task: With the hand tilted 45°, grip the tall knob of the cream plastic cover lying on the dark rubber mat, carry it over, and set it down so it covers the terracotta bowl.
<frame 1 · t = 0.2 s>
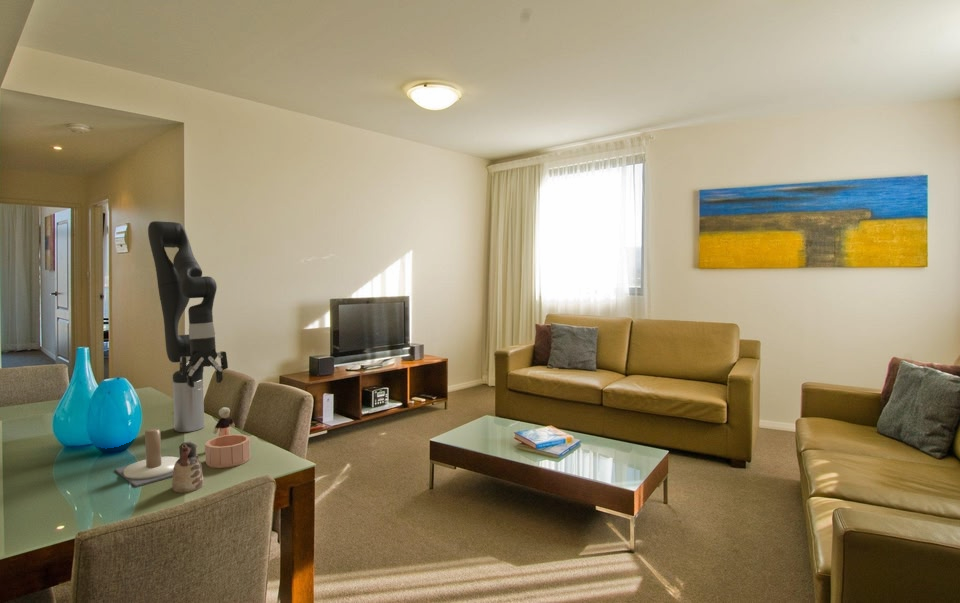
hand: (205, 384, 174), 18 cm above the table, tool pointing down, fingers open, 8 cm apart
grandmother figurine: (225, 446, 166), on the table
mat: (154, 470, 146), on the table
cover: (153, 449, 146), on the mat
figurine: (188, 487, 135), on the table
bowl: (228, 460, 154), on the table
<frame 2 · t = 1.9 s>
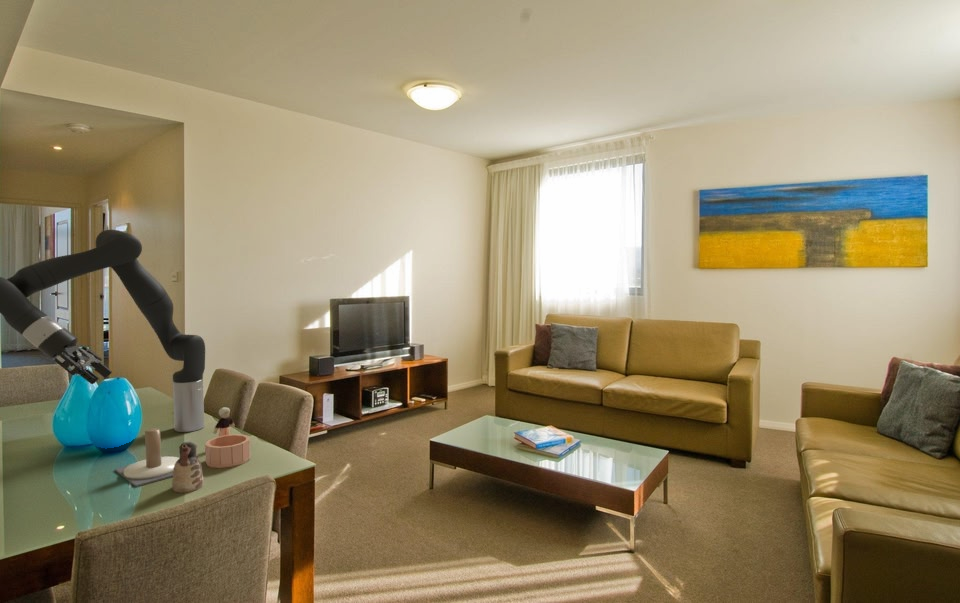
hand: (102, 378, 141), 27 cm above the table, tool tilted 45°, fingers open, 8 cm apart
nothing on the table moved.
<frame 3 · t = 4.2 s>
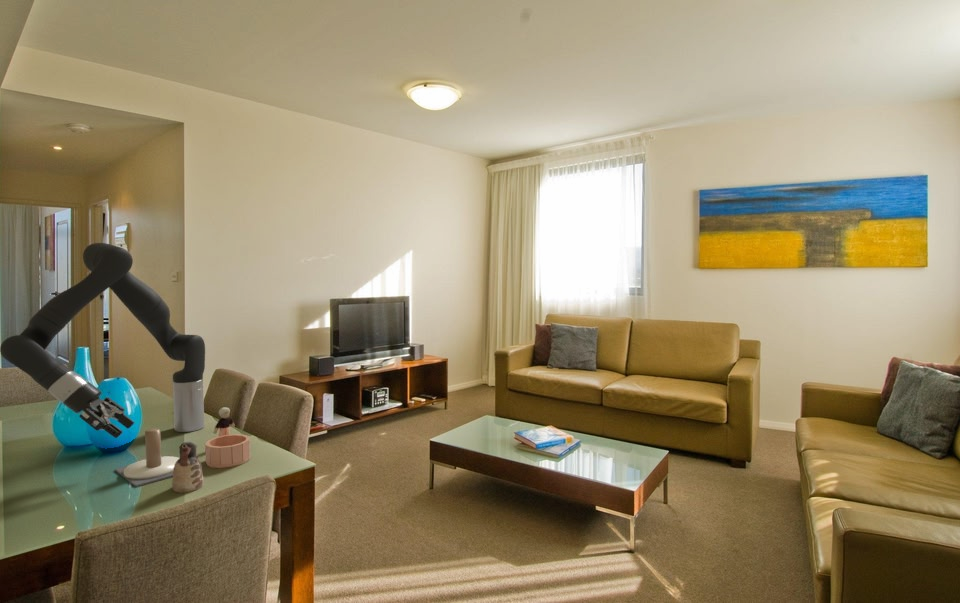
hand: (125, 430, 143), 12 cm above the table, tool tilted 45°, fingers open, 8 cm apart
nothing on the table moved.
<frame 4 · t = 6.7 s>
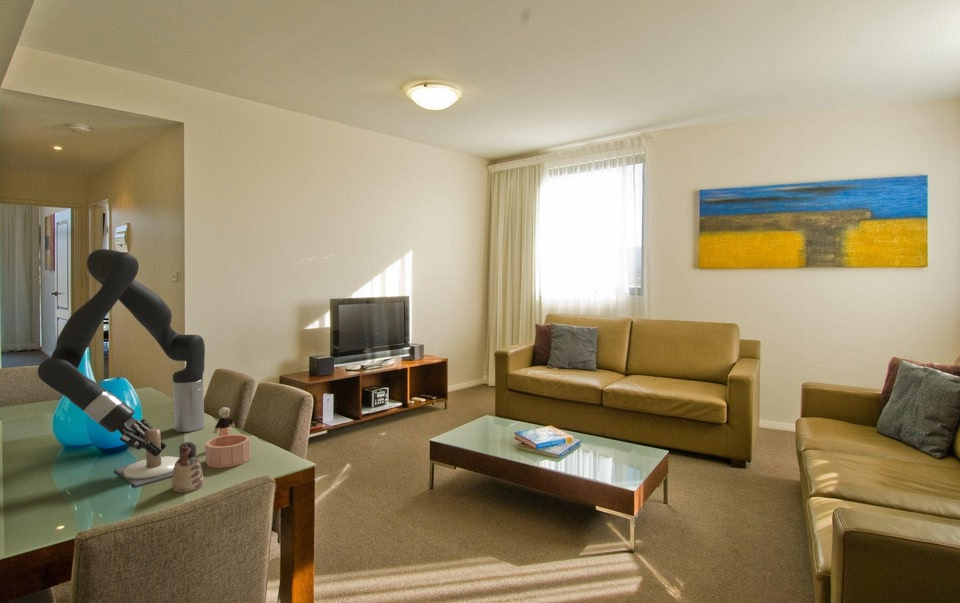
hand: (161, 450, 146), 6 cm above the table, tool tilted 45°, fingers closed on cover, 3 cm apart
cover: (153, 449, 146), on the mat, touching gripper
everything else where it was.
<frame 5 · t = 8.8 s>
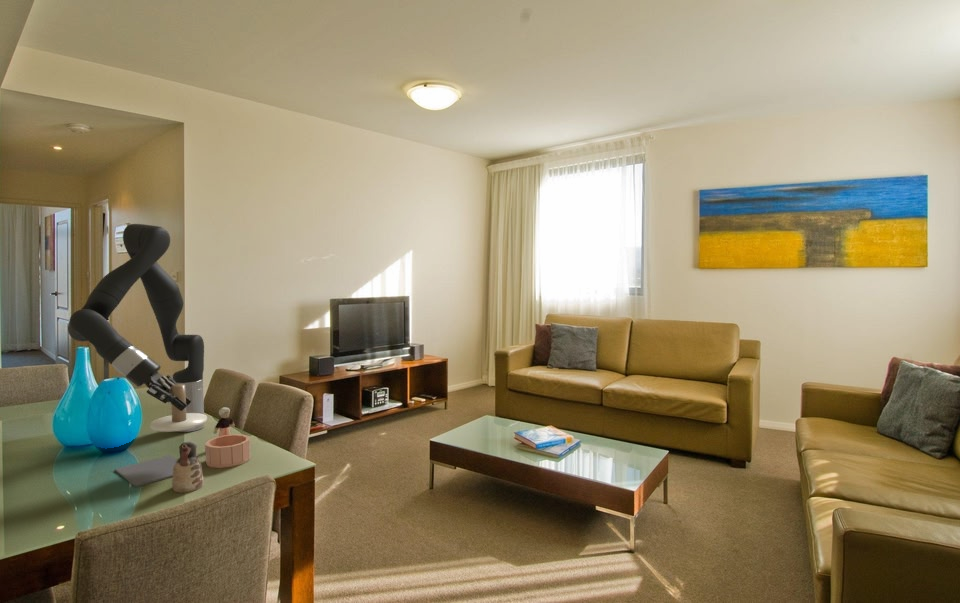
hand: (186, 406, 148), 18 cm above the table, tool tilted 45°, fingers closed on cover, 3 cm apart
cover: (178, 404, 148), point 18 cm above the table, touching gripper
everything else where it was.
when the fingers open (12 cm above the table, at t = 11.1 s): cover drops 1 cm, resting on bowl.
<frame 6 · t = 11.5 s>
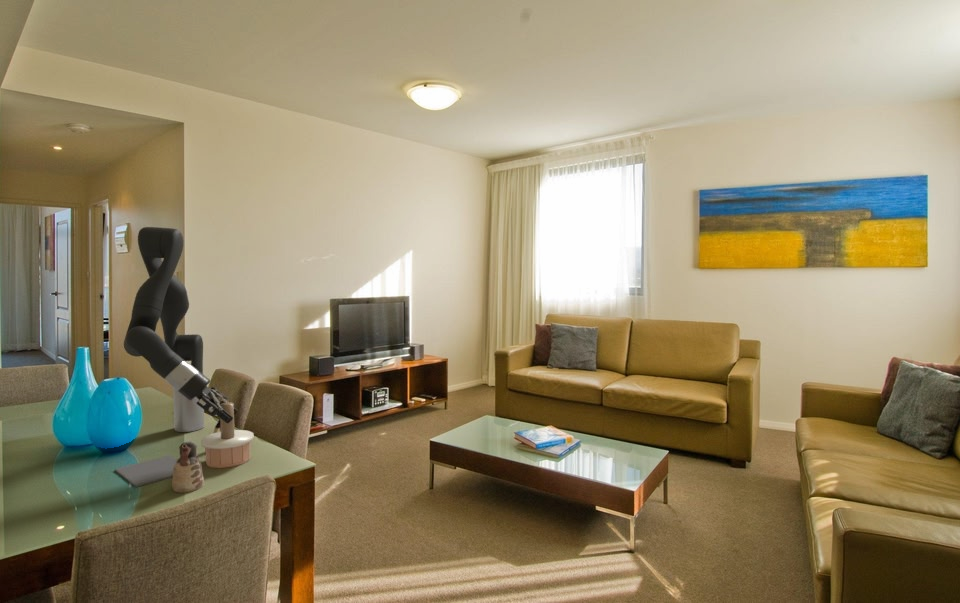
hand: (233, 417, 153), 13 cm above the table, tool tilted 45°, fingers open, 7 cm apart
cover: (227, 422, 153), on the bowl, point 12 cm above the table
everything else where it was.
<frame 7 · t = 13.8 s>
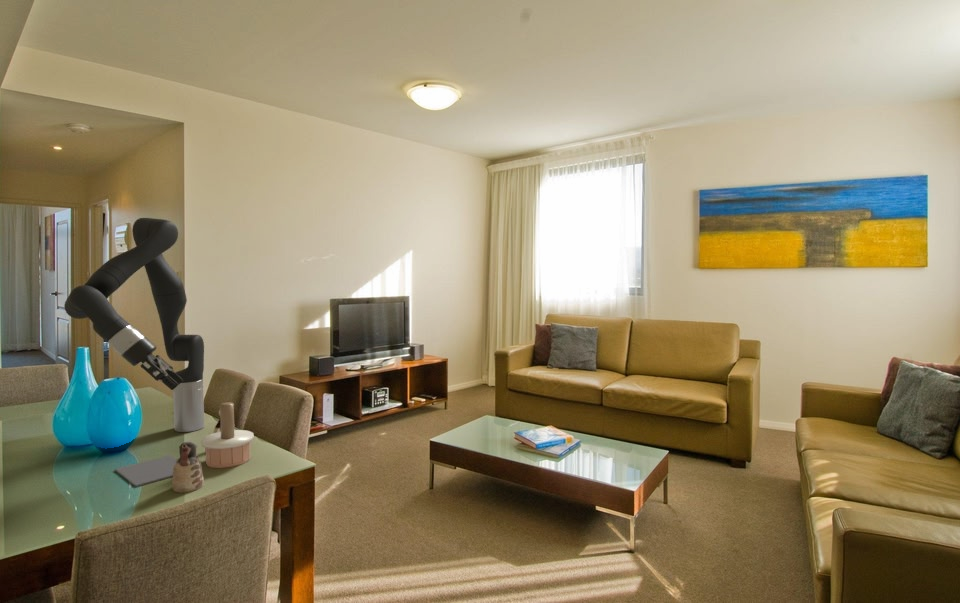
hand: (178, 385, 149), 23 cm above the table, tool tilted 40°, fingers open, 8 cm apart
nothing on the table moved.
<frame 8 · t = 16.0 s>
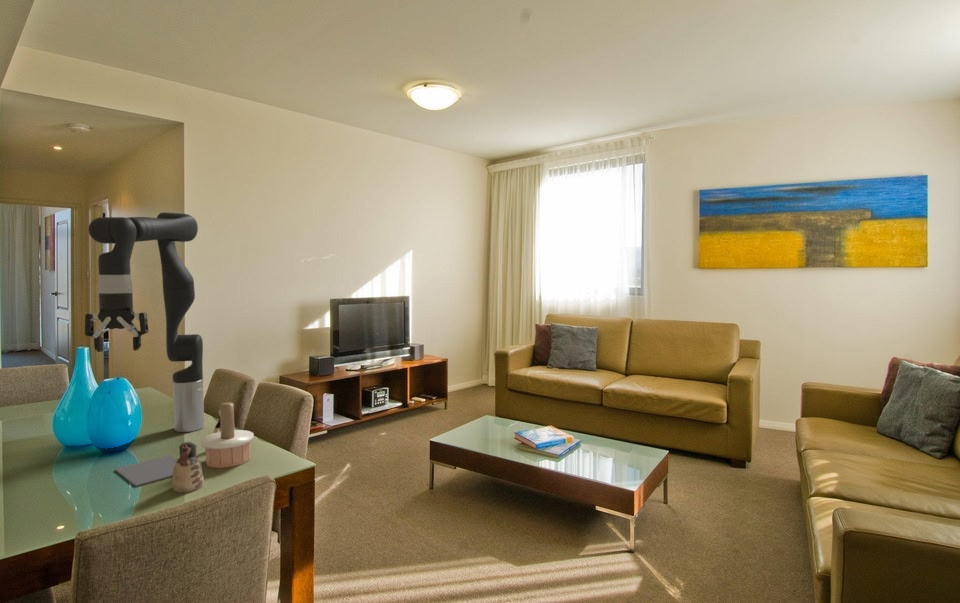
hand: (118, 350, 142), 34 cm above the table, tool pointing down, fingers open, 8 cm apart
nothing on the table moved.
at the end: cover 0.0 cm from the bowl (horizontally); cover point 11.5 cm above the table; cover tilted 0° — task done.
